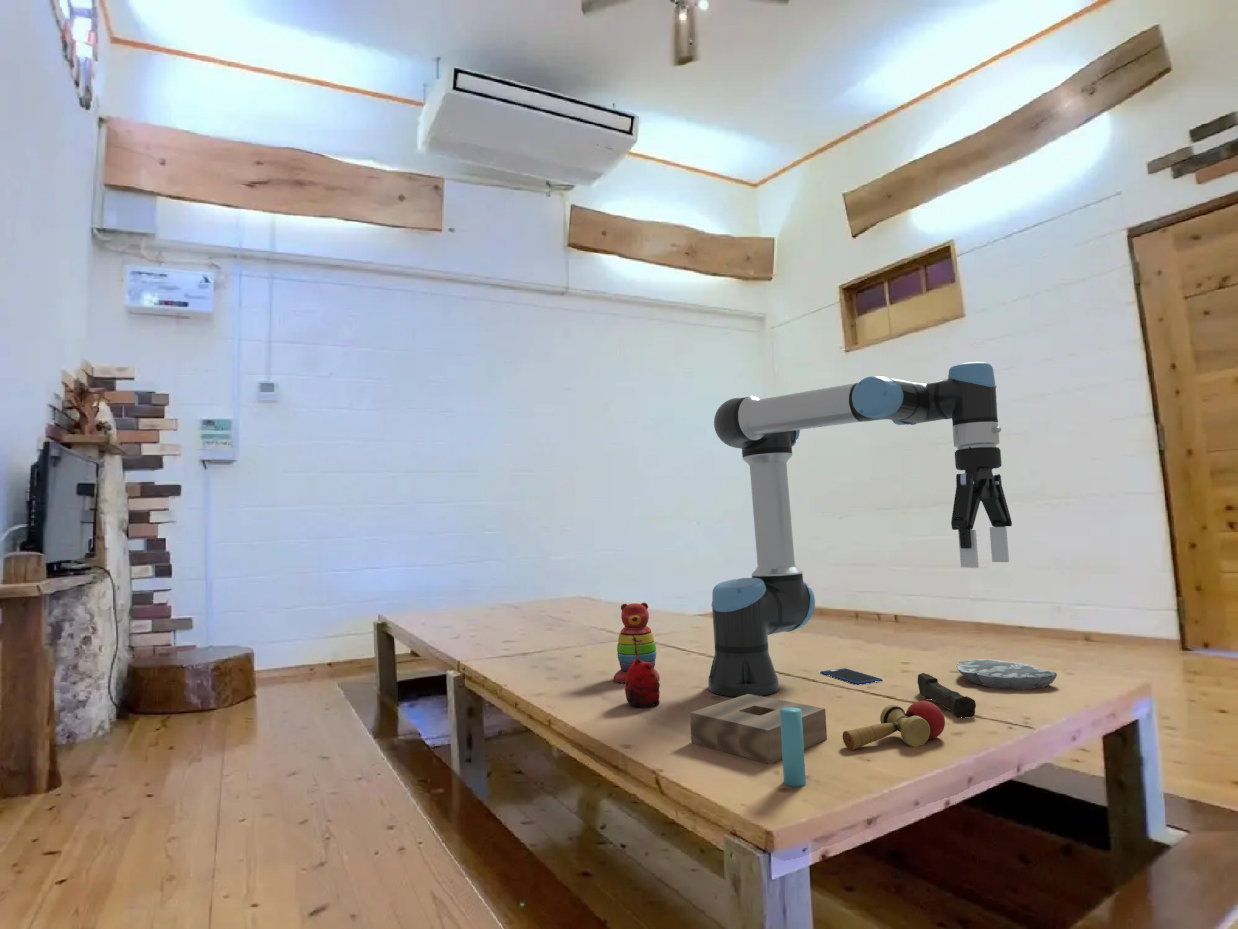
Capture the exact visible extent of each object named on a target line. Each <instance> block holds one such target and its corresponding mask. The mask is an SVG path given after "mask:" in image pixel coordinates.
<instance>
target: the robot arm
mask: <svg viewBox="0 0 1238 929" xmlns="http://www.w3.org/2000/svg"><path fill="white" fill-rule="evenodd" d="M880 420H881V421H882V420H890V421H892V422H893V423H894V424H895V425H898V426H903V425H906V426H907V425H912V426H913V425H917V424H921V423H928V422H936V421H943V420H951V421H952V422H951V423H952V439H953V440H952V441H953V447H954V448H957V449H956V450H955V451H954V463H955V469H956V470H958V471H964V473H957V474H956V476H955V481H956V482H955V483H956V487H955V495H954V499H953V500H954V501H953V508H952V515H951V521H950V523H951V530H953V531H957V532H958V544H959V545H958V547H959V559H960V560H959V562H960V568H973V569H974V568H975V569H976V568H979V567H980V565H979V554H978V540H977V530H976V529H974V525H975V521H976V518H977V514H978V511H979V507H980V503H982V506H983V508H984V510H985V513H986V515H987V517H988V520H989V522H990V524H991V527H989V539H990V547H991V548H990V549H991V562H992V563H1009V562H1010V559H1009V558H1010V556H1009V543H1008V531H1007V530H1008V529H1007V528H1008V527H1012V525H1013V522H1012V517H1011V514H1010V512H1009V510H1010V509H1009V507H1008V503H1007V500H1006V496H1005V493H1004V492H1005V491H1004V488H1003V485H1002V484H1003V483H1002V476H1001V473H994V474H993V470H994V469H999V468H1001V467H1002V453H1001V449H1000V447H998V446H997V445H999V444H1000V434H999V433H1000V432H1002V427H1001V426H999V419H998V403H997V385H996V379H995V373H994V368H993V366H992V365H991V364H990V363H988V362H982V361H974V362H964V363H959V364H957V365H953V366H951V367H950V368H949V370H948V375H947V378H944V379H941V380H937V381H931V382H924V383H919V382H914V381H907V380H902V379H899V378H898V379H897V378H892V377H889V376H884V375H877V376H876V375H875V376H874V375H873V376H871V375H870V376H868V377H864V378H863V379H862V380H860V381H858V382H854V383H853V382H852V383H849V384H848V383H847V384H841V385H835V386H830V387H825V388H820V389H819V388H818V389H814V390H808V391H801V392H795V393H790V394H789V393H788V394H783V395H778V396H777V395H776V396H773V397H767V398H761V399H760V398H759V397H756V396H753V395H751V396H745V397H736V398H735V397H734V398H731V399H728V400H726V401H724V402H723V403H722V404H721V405H720V406H719V407H718V408H717V410H716V412H715V414H714V420H713V429H714V431H715V433H716V436H717V437H718V439H720V441H721V442H722V443H724V444H725V445H727V446H729V447H732V448H735V449H741V454H742V460H743V461H744V462H746V464H748V466H749V474H750V485H751V486H750V487H751V499H752V501H751V502H752V509H753V511H752V512H753V524H754V525H753V526H754V537H755V550H756V563H757V566H756V568H755V570H754V571H753V572H752V573H751V577H741V578H738V579H728V580H725V581H722V582H720V583H717V584H716V585H715V586H714V587H713V589H712V600H711V608H712V625H713V640H714V641H713V642H714V655H713V660H712V663H711V667H710V671H709V675H708V680H707V682H708V683H707V684H708V690H709V692H711V693H714V694H716V695H719V696H720V695H721V696H725V697H734V698H737V697H740V696H743V695H746V694H751V695H757V696H762V697H764V696H766V695H767V696H768V695H772V694H774V693H777V692H778V691H779V688H780V687H779V678H778V675H777V673H776V670H775V668H774V664H773V661H772V658H771V656H770V652H769V637H768V636H769V635H774V634H779V633H789V632H790V633H791V632H792V631H795V630H797V629H801V628H803V627H805V625H807V624H808V623H809V621H810V620H812V618H813V615H814V612H815V609H816V598H815V594H814V592H813V589H812V588H811V587H809V586H810V584H808V583H807V582H806V581H804V576H803V571H802V570H801V569H800V568H799V567H798V566H797V565H796V560H795V551H794V549H795V548H794V537H793V527H792V513H791V512H792V511H791V502H790V490H789V476H788V466H787V465H788V464H787V463H788V461H789V460H791V458H792V456H793V447H794V446H795V445H796V443H797V440H798V439H799V437H800V432H801V430H809V429H813V428H814V429H815V428H823V427H830V426H838V425H845V424H853V423H854V424H856V423H861V422H871V421H872V422H874V421H880Z"/></svg>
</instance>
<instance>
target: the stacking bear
mask: <svg viewBox="0 0 1238 929" xmlns="http://www.w3.org/2000/svg"><path fill="white" fill-rule="evenodd" d="M648 608H649V605H648V603H647V602H641V603H637V602H636V603H635V602H634V603H633V602H632V603H622V604H621V605H620V611H621V616H620V618H621V622H622V624H623V626H624V627H623V628H621V630H620V633H619V635H618V639H617V642H618V643H617V647H616V648H617V649H616V651H617V654H616V655H617V659H618V662H619V667H620V669H619V670H618V671H616V673H615V674H614V675H613V678H612V681H613V683H615V682H625V678H626V676H627V671H628V669H629V668H630V666H631V664H632V661H633V660H636V654H635V652H634V649H635V646H634V641H633V640H632V639H633V638H634V637H633V636H632V633H633V635H634V636H635V637H636V640H638V641H639V640H642V641H641V642H642V645H641V644H639V643H638V642H636V647H637V649H638V651H637V654H638V657H639V659H640V660H641V661H643V662H650V663H651V664H652V665H653V669H654V671H655V672H656V674H657V678H658V682H660V680H661V678H660V674H659V672H658V671H657V670H656V668H655V666H656V659H657V645H656V641H655V638H654V634H653V632H652V629H651V628H650V627H649V626H647V625H648V622H649V618H650V614H649V610H648Z"/></svg>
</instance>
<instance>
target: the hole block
mask: <svg viewBox="0 0 1238 929" xmlns="http://www.w3.org/2000/svg"><path fill="white" fill-rule="evenodd" d="M788 707H792V708H798V709H801V710H802V728H803V745H804V750H805V749H808V748H811V747H812V746H816V744H819V743H822V742H825V741H826V740H828V734H827V733H828V732H827V717H826V716H827V715H826V708H824V707H820V706H815V705H814V706H813V705H809V704H803V703H799V702H793V701H789V700H788V701H787V700H783V699H776V698H771V697H766V696H757V695H751V694H746V695H743V696H740V697H734V698H731V699H728V700H724V701H721V702H719V703H715V704H712V705H708V706H706V707H702V708H700V709H696V710H693V711H690V712H689V722H690V724H689V725H690V741H691V744H694V745H698V746H702V747H706V748H709V749H714V750H717V751H722V752H725V753H728V754H732V755H735V756H737V757H738V756H740V757H744V758H747V759H750V760H753V761H756V762H757V761H758V762H761V763H765V764H768V765H772V764H773V763H776V762H778V761H781V760H783V758H782V740H781V722H780V709H782V708H788Z"/></svg>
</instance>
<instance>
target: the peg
mask: <svg viewBox="0 0 1238 929" xmlns="http://www.w3.org/2000/svg"><path fill="white" fill-rule="evenodd" d="M780 722H781V740H782V758H783V759H782V770H783V771H782V773H783V783H784V785H786V786H788V787H793V788H797V787H798V788H800V787H803V786H806V783H807V781H806V765H805V762H806V761H805V749H804V745H803V728H802V710H801V709H798V708H792V707H788V708H782V709H780Z"/></svg>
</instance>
